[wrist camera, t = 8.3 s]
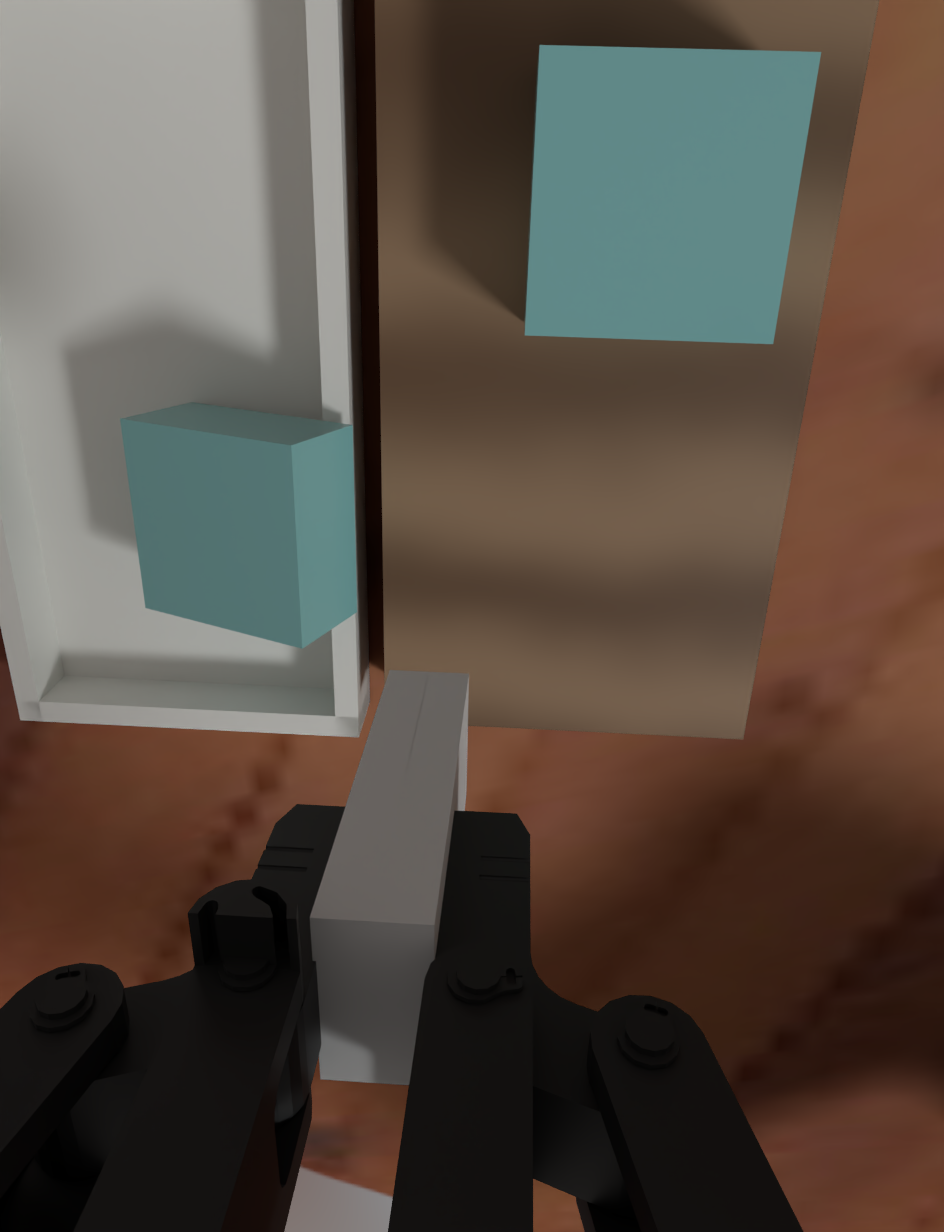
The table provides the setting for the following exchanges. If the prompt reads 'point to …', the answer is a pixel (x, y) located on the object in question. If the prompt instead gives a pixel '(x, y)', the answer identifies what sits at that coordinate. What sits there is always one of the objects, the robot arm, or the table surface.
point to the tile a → (244, 519)
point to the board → (579, 389)
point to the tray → (168, 331)
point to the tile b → (664, 191)
